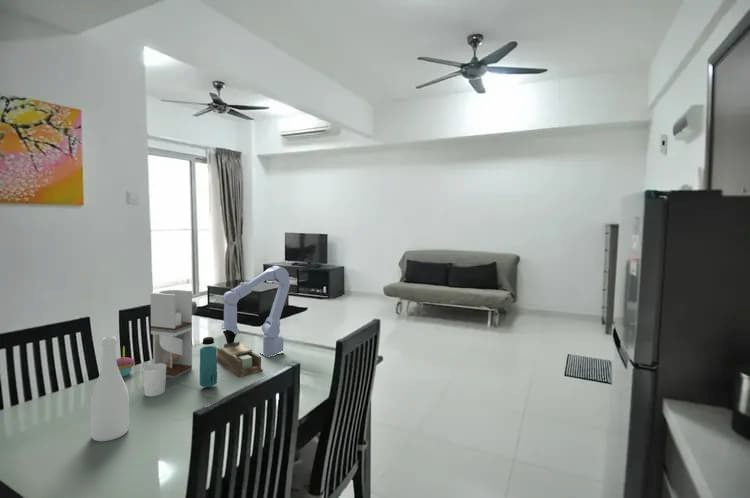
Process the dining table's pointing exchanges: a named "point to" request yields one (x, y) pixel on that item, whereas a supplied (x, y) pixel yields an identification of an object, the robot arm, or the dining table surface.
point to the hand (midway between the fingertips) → (230, 345)
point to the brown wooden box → (238, 363)
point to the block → (245, 361)
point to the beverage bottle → (208, 363)
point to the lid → (235, 348)
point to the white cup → (154, 379)
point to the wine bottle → (109, 398)
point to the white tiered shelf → (172, 330)
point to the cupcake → (125, 364)
